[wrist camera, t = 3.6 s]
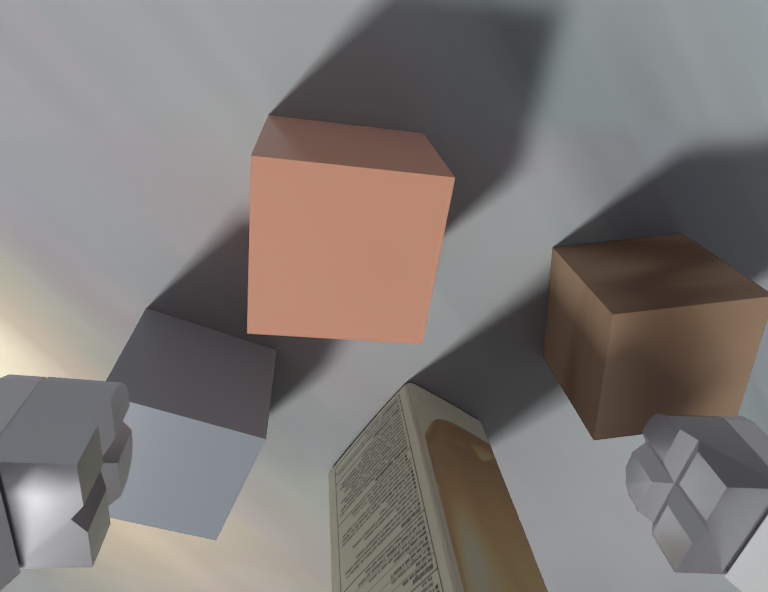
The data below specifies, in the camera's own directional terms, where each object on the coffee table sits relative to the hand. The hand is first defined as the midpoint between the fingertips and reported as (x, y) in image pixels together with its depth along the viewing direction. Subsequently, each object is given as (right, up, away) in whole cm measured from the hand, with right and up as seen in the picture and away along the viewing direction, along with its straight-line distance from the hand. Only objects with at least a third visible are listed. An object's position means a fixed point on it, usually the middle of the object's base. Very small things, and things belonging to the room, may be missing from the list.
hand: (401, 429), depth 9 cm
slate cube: (-8, -1, +13) cm, 16 cm away
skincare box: (+1, -4, +16) cm, 17 cm away
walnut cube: (+9, +2, +13) cm, 16 cm away
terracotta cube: (-2, +5, +10) cm, 12 cm away
